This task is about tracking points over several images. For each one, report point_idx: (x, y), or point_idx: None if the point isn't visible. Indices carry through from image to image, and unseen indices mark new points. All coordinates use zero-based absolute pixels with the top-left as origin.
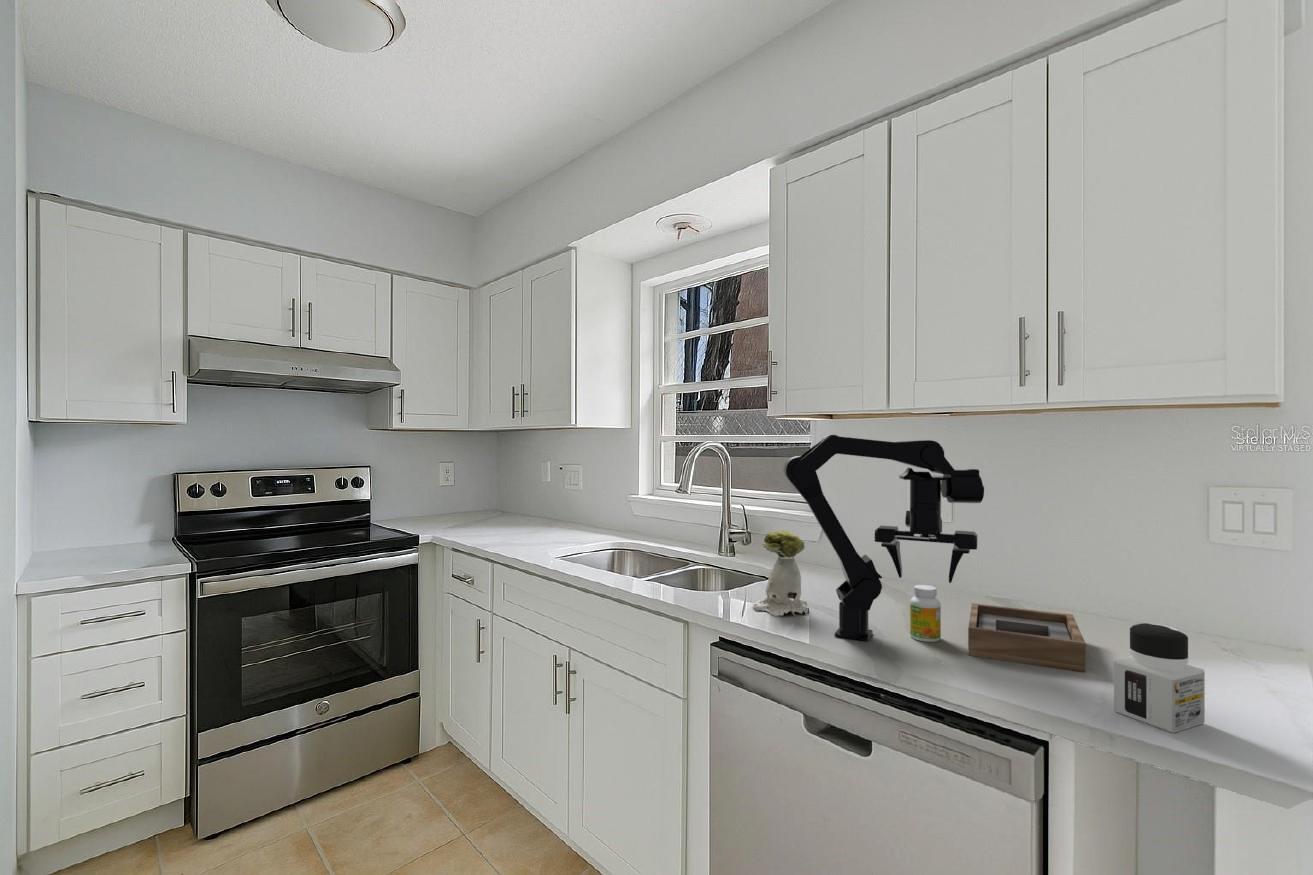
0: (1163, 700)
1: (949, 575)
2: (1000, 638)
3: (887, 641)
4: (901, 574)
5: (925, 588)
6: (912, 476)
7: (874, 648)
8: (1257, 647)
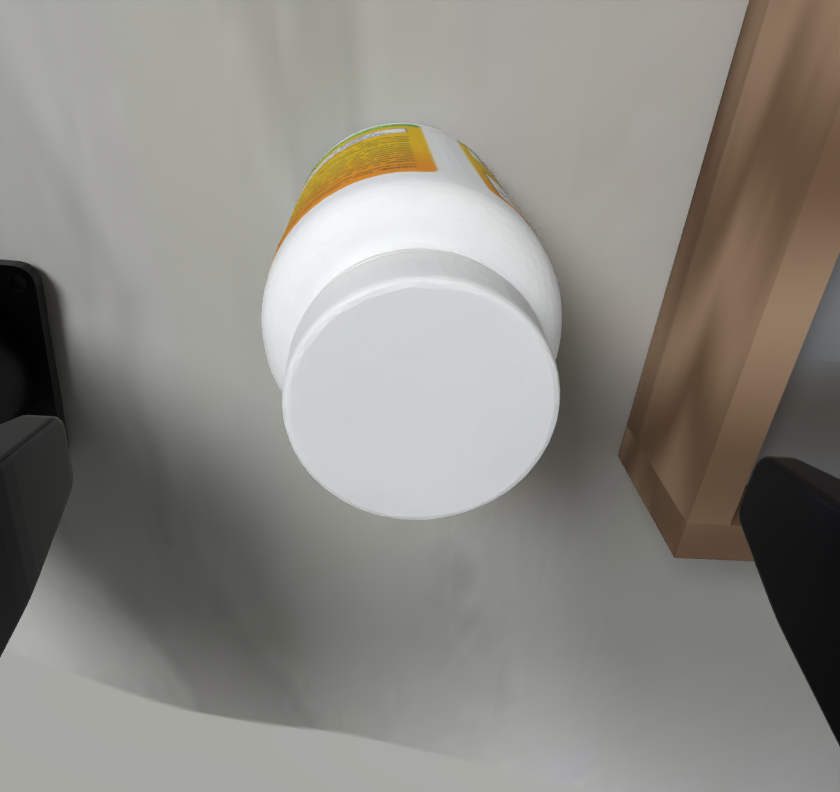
0: None
1: (787, 630)
2: None
3: (178, 399)
4: (51, 494)
5: (424, 473)
6: None
7: (142, 537)
8: None
